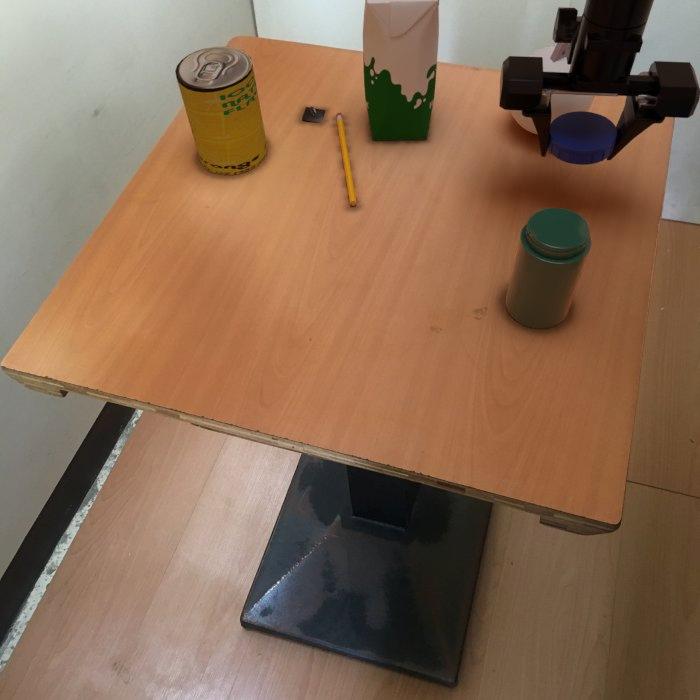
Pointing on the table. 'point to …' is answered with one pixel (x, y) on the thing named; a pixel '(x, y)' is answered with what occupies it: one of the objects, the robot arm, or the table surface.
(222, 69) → the beverage can
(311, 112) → the dark square tile
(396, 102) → the soya milk
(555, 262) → the jar
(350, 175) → the pencil
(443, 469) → the table surface
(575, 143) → the lid
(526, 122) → the ornament
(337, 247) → the table surface
